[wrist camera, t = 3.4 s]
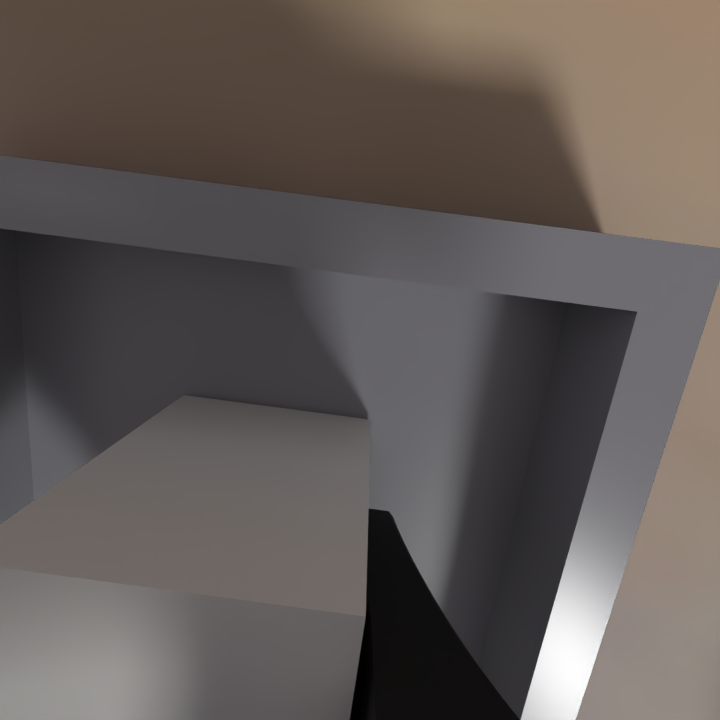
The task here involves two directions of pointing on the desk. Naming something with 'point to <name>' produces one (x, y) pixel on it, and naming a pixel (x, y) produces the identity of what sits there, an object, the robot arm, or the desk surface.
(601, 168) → the desk surface
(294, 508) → the light gray block
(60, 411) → the bin
